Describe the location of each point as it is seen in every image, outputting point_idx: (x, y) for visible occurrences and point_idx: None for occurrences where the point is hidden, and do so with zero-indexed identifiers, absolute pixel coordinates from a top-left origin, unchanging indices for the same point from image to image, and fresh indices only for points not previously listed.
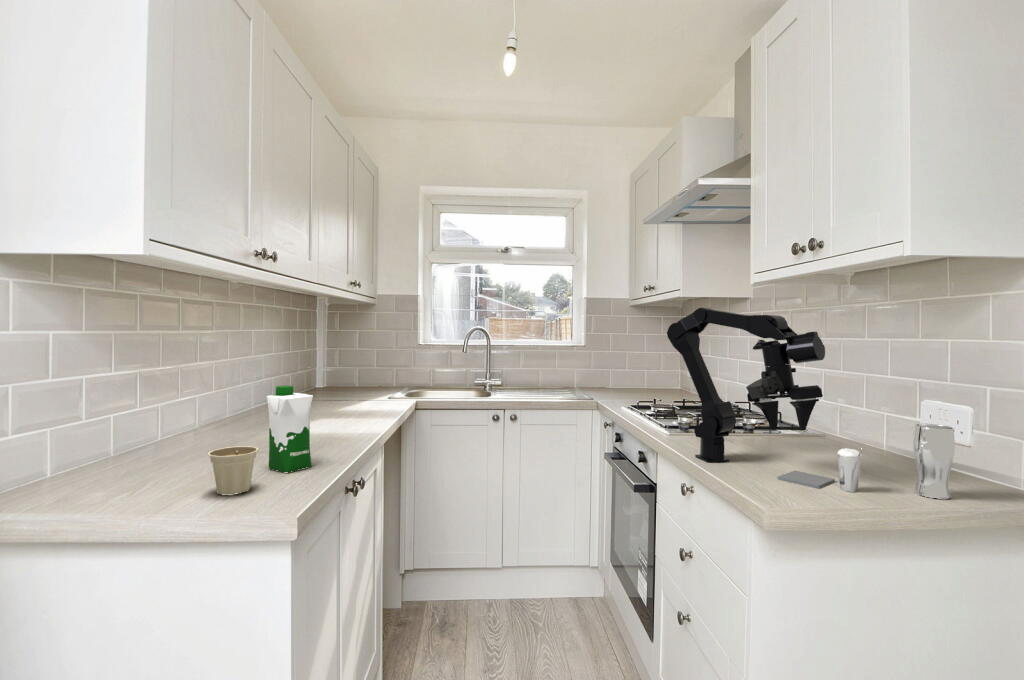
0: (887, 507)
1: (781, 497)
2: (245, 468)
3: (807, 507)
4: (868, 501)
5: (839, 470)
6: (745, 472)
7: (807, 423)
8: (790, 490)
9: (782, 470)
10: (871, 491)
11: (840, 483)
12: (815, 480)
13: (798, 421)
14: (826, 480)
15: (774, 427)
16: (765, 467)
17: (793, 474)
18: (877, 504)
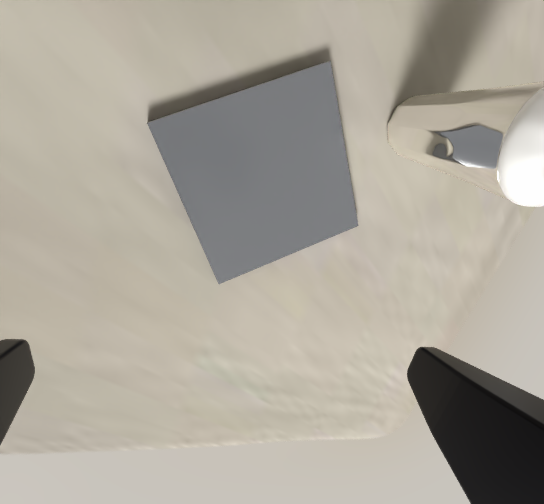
0: None
1: (354, 374)
2: None
3: None
4: None
5: (440, 164)
6: (93, 338)
7: (495, 380)
8: (326, 319)
9: (86, 146)
10: (461, 50)
11: (409, 158)
12: (312, 178)
13: (456, 467)
14: (331, 129)
15: (21, 380)
16: (4, 191)
17: (212, 196)
18: None
